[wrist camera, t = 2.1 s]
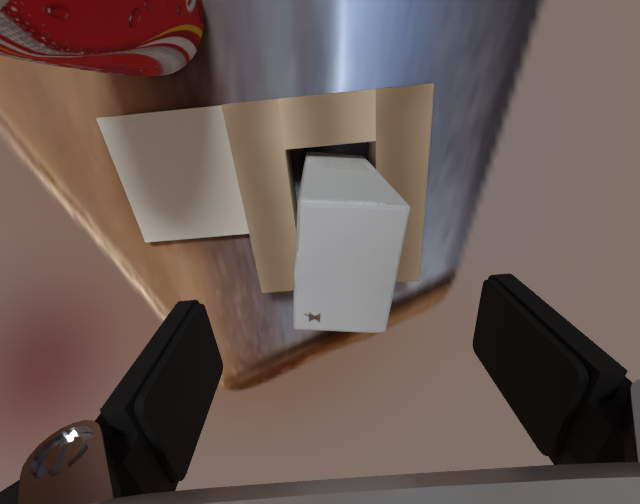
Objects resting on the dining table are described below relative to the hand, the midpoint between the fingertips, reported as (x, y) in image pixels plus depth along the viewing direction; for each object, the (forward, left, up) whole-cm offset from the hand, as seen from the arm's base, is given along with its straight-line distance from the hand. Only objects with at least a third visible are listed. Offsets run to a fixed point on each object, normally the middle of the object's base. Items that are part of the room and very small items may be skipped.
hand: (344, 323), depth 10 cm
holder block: (0, -1, -14) cm, 14 cm away
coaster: (+10, -3, -14) cm, 18 cm away
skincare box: (0, -1, -14) cm, 14 cm away
